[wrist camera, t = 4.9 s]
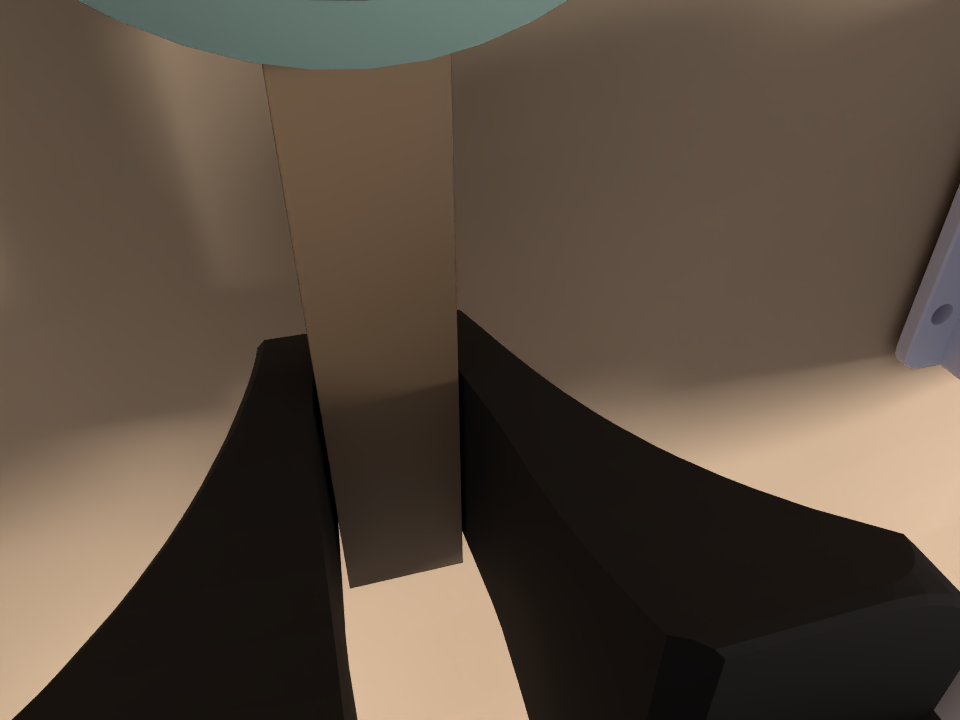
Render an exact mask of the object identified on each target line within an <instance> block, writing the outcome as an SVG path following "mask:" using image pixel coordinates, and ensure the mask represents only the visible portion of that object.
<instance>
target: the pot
mask: <svg viewBox="0 0 960 720" xmlns="http://www.w3.org/2000/svg"><path fill="white" fill-rule="evenodd" d="M78 1H80V2H82V3H84V4H86V5H88V6H90V7H92V8H94V9H96V10H98V11H99V12H101V13H103V14H105V15H107V16H109V17H111V18H113V19H115V20H118V21H120V22H123V23H126V24H128V25H131V26H133V27H136V28H139V29H141V30H144V31H146V32H149V33H152V34H154V35H157V36H159V37H162V38H165V39H167V40H170V41H173V42H175V43H178V44H180V45H183V46H187V47H191V48H195V49H199V50H203V51H207V52H211V53H215V54H219V55H223V56H227V57H231V58H234V59H238V60H242V61H246V62H252V63H261V64H262V67H263V73H264V79H265V85H266V91H267V97H268V103H269V109H270V115H271V121H272V127H273V133H274V139H275V145H276V151H277V157H278V163H279V169H280V175H281V181H282V187H283V193H284V199H285V205H286V211H287V217H288V223H289V229H290V235H291V241H292V247H293V253H294V259H295V265H296V271H297V277H298V283H299V289H300V295H301V301H302V307H303V313H304V319H305V325H306V331H307V337H308V343H309V349H310V355H311V360H312V366H313V372H314V378H315V384H316V390H317V396H318V402H319V408H320V414H321V420H322V426H323V432H324V438H325V444H326V450H327V456H328V462H329V468H330V474H331V480H332V486H333V492H334V498H335V504H336V510H337V516H338V522H339V528H340V534H341V540H342V545H343V551H344V557H345V562H346V568H347V574H348V580H349V585H350V588H354V587H359V586H363V585H367V584H372V583H376V582H380V581H385V580H389V579H393V578H398V577H402V576H406V575H411V574H415V573H419V572H424V571H428V570H432V569H437V568H441V567H445V566H450V565H454V564H458V563H463V554H462V512H461V470H460V427H459V385H458V343H457V301H456V258H455V216H454V174H453V132H452V89H451V53H454V52H457V51H461V50H464V49H467V48H471V47H474V46H478V45H481V44H483V43H486V42H488V41H490V40H492V39H495V38H497V37H499V36H501V35H503V34H506V33H508V32H510V31H512V30H515V29H517V28H519V27H521V26H524V25H526V24H528V23H530V22H533V21H534V20H536V19H538V18H539V17H541V16H542V15H544V14H546V13H547V12H549V11H551V10H552V9H554V8H555V7H557V6H559V5H560V4H562V3H564V2H565V1H567V0H78Z"/></svg>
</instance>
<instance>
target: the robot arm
mask: <svg viewBox="0 0 960 720" xmlns="http://www.w3.org/2000/svg"><path fill="white" fill-rule="evenodd" d="M457 343H458V385H459V427H460V470H461V512H462V531H463V534H464V536H465V538H466V541H467V543H468V545H469V548H470V550H471V553H472V555H473V557H474V560H475V562H476V564H477V567H478V569H479V572H480V574H481V576H482V579H483V581H484V584H485V586H486V588H487V591H488V593H489V595H490V598H491V600H492V603H493V606H494V608H495V611H496V614H497V616H498V619H499V622H500V625H501V627H502V630H503V634H504V637H505V640H506V643H507V647H508V650H509V653H510V657H511V660H512V663H513V667H514V670H515V673H516V676H517V680H518V683H519V686H520V690H521V693H522V696H523V700H524V703H525V707H526V710H527V714H528V717H529V720H941V719H940V718H939V716H938V715H937V714H936V713H935V711H934V709H935V707H936V706H937V704H938V702H939V701H940V699H941V698H942V696H943V695H944V693H945V692H946V690H947V689H948V687H949V686H950V684H951V683H952V681H953V679H954V678H955V676H956V675H957V673H958V672H959V670H960V591H959V590H958V589H957V588H956V587H955V586H954V585H953V584H952V583H951V582H950V581H949V580H948V579H947V578H946V577H945V576H944V575H943V574H942V573H941V572H940V571H939V570H938V569H937V568H936V566H935V565H934V564H933V563H932V562H931V561H930V560H929V559H928V558H927V557H926V556H925V555H924V554H923V553H922V552H921V551H920V550H919V549H918V548H917V547H916V546H915V545H914V544H913V543H912V542H911V541H910V540H909V539H908V538H907V537H906V536H905V535H904V534H901V533H898V532H894V531H891V530H887V529H883V528H880V527H876V526H873V525H869V524H865V523H862V522H858V521H855V520H851V519H847V518H844V517H840V516H837V515H833V514H830V513H826V512H822V511H819V510H815V509H812V508H809V507H806V506H803V505H800V504H797V503H794V502H791V501H788V500H785V499H782V498H779V497H777V496H774V495H771V494H768V493H765V492H762V491H759V490H756V489H754V488H751V487H748V486H746V485H743V484H741V483H738V482H735V481H733V480H730V479H728V478H725V477H723V476H720V475H718V474H716V473H713V472H711V471H709V470H707V469H704V468H702V467H700V466H697V465H695V464H693V463H691V462H688V461H686V460H684V459H681V458H679V457H677V456H675V455H673V454H671V453H669V452H667V451H665V450H662V449H660V448H658V447H656V446H654V445H652V444H650V443H649V442H647V441H645V440H643V439H641V438H639V437H637V436H636V435H634V434H632V433H630V432H628V431H626V430H625V429H623V428H621V427H619V426H617V425H615V424H614V423H612V422H610V421H609V420H607V419H605V418H603V417H602V416H600V415H598V414H597V413H595V412H594V411H592V410H590V409H589V408H587V407H586V406H584V405H583V404H581V403H580V402H578V401H577V400H575V399H574V398H572V397H571V396H569V395H568V394H566V393H565V392H563V391H562V390H560V389H559V388H557V387H556V386H555V385H553V384H552V383H550V382H549V381H548V380H546V379H545V378H544V377H542V376H541V375H540V374H538V373H537V372H536V371H534V370H533V369H532V368H530V367H529V366H528V365H526V364H525V363H524V362H523V361H521V360H520V359H519V358H518V357H516V356H515V355H514V354H512V353H511V352H510V351H509V350H508V349H506V348H505V347H504V346H503V345H502V344H500V343H499V342H498V341H497V340H495V339H494V338H493V337H492V336H491V335H489V334H488V333H487V332H486V331H485V330H484V329H482V328H481V327H480V326H479V325H478V324H476V323H475V322H474V321H473V320H472V319H470V318H469V317H468V316H467V315H465V314H464V313H463V312H462V311H460V310H457ZM895 355H896V358H897V359H898V360H899V361H900V362H902V363H903V364H904V365H905V366H907V367H908V368H910V369H918V368H923V367H928V366H933V365H938V364H941V366H943V367H944V368H945V369H947V370H948V371H949V372H950V373H952V374H953V375H954V376H956V377H957V378H958V379H960V185H959V187H958V190H957V192H956V195H955V197H954V200H953V203H952V205H951V208H950V210H949V213H948V215H947V218H946V221H945V223H944V226H943V228H942V231H941V233H940V236H939V238H938V241H937V244H936V246H935V249H934V251H933V254H932V256H931V259H930V262H929V264H928V267H927V269H926V272H925V274H924V277H923V280H922V282H921V285H920V287H919V290H918V292H917V295H916V297H915V300H914V303H913V305H912V308H911V310H910V313H909V315H908V318H907V321H906V323H905V326H904V328H903V331H902V333H901V336H900V339H899V341H898V344H897V347H896V352H895ZM12 720H357V714H356V708H355V702H354V696H353V690H352V683H351V677H350V671H349V663H348V654H347V645H346V635H345V619H344V604H343V589H342V573H341V557H340V542H339V527H338V516H337V510H336V504H335V498H334V492H333V486H332V480H331V474H330V468H329V462H328V456H327V450H326V444H325V438H324V432H323V426H322V420H321V414H320V408H319V402H318V396H317V390H316V384H315V378H314V372H313V366H312V360H311V355H310V349H309V343H308V337H307V334H301V335H294V336H288V337H281V338H275V339H268V340H264V341H263V342H262V344H261V345H260V346H259V347H258V348H257V354H256V359H255V363H254V367H253V370H252V374H251V377H250V380H249V383H248V386H247V388H246V391H245V394H244V397H243V399H242V402H241V404H240V407H239V409H238V411H237V414H236V416H235V418H234V421H233V423H232V425H231V428H230V430H229V432H228V435H227V437H226V439H225V441H224V443H223V445H222V447H221V449H220V451H219V453H218V455H217V457H216V459H215V461H214V462H213V464H212V466H211V468H210V470H209V472H208V474H207V476H206V478H205V480H204V482H203V483H202V485H201V487H200V489H199V490H198V492H197V494H196V496H195V497H194V499H193V501H192V502H191V504H190V506H189V507H188V509H187V510H186V512H185V514H184V515H183V517H182V518H181V520H180V521H179V523H178V524H177V526H176V527H175V529H174V531H173V532H172V534H171V535H170V537H169V538H168V540H167V541H166V542H165V544H164V545H163V547H162V548H161V550H160V551H159V552H158V554H157V555H156V556H155V558H154V559H153V560H152V562H151V563H150V564H149V566H148V567H147V568H146V570H145V571H144V573H143V574H142V575H141V577H140V578H139V579H138V581H137V582H136V583H135V585H134V586H133V587H132V589H131V590H130V591H129V592H128V594H127V595H126V596H125V597H124V599H123V600H122V601H121V602H120V604H119V605H118V606H117V607H116V608H115V610H114V611H113V612H112V613H111V615H110V616H109V617H108V618H107V619H106V620H105V621H104V622H103V624H102V625H101V626H100V627H99V628H98V629H97V630H96V631H95V633H94V634H93V635H92V636H91V637H90V638H89V639H88V640H87V642H86V643H85V644H84V645H83V646H82V647H81V648H80V649H79V651H78V652H77V653H76V654H75V655H74V656H73V657H72V658H71V660H70V661H69V662H68V663H67V664H66V665H65V666H64V667H63V669H62V670H61V671H60V672H59V673H58V674H57V675H56V676H55V677H54V678H53V679H52V680H51V682H50V683H49V684H48V685H47V686H46V687H45V688H44V689H43V690H42V691H41V692H40V693H39V694H38V695H37V696H36V697H35V698H34V699H33V700H32V701H31V702H30V703H29V704H28V705H27V706H26V707H25V708H24V709H23V710H22V711H20V712H19V713H18V714H17V715H16V716H15V717H14V718H13V719H12Z"/></svg>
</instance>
